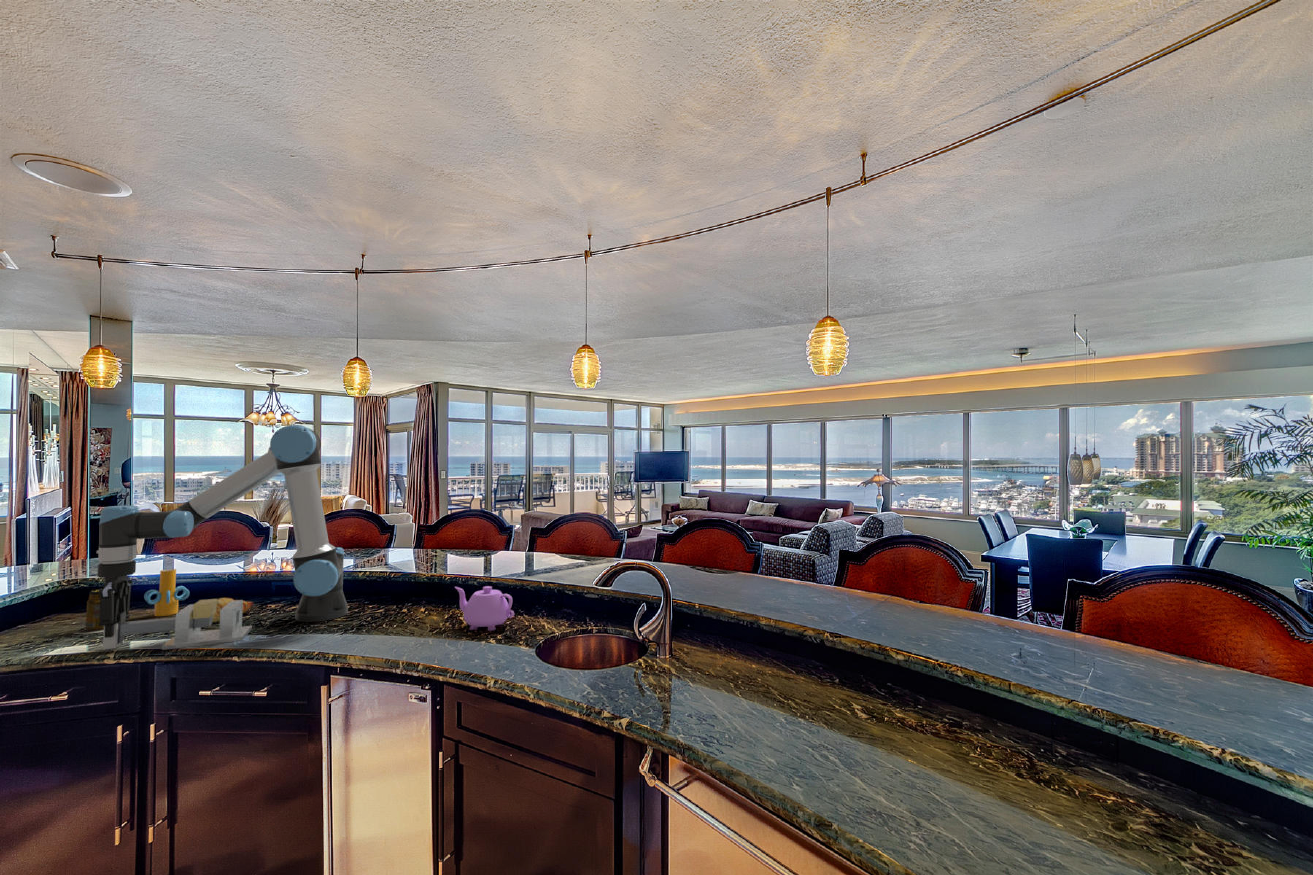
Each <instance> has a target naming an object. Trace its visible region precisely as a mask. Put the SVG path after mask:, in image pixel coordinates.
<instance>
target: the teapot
mask: <svg viewBox="0 0 1313 875" xmlns="http://www.w3.org/2000/svg"><path fill="white" fill-rule="evenodd" d="M454 588H455V590H457V592H458V594H459V608H460V610H461V611H462V613H463V620H464V621H465V622H466V624H468V626H470V627H469V630H470V631H474V630H478V628H479V627H480V628H481V627H482V628H483V627H484V628H485V627H487V631H489V632H490V631H491V632H493V631H496V629H497V628H496V626H500V625H504V623H505V622H506V620H507V619H508V618H509V619H511V618H513V617H514V616H515V612H514V610H512V609H511V608H512V605H513V597H512V595H510V594H508V593H502V591H501V590H499V589H493V586H491V585H490V586H489V585H487V586H486V585H485V586H483V587H482V589H481V590H477V591H475V592H474V593H473V594H472V595H471V596H470V598H469V600H468V601H467V598H466V594H465V591H464V589H463V588H461V587H459V586H454ZM506 598H507V599H508V601H507V599H506Z"/></svg>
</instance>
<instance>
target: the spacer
mask: <svg viewBox="0 0 1313 875" xmlns="http://www.w3.org/2000/svg"><path fill="white" fill-rule="evenodd" d="M217 599H218V598H211V599H210V598H209V599H199V600H198V601H197V602H195V603H193V604H194V605H193V619H198V618H209V617H211V616H212V615H213V614H215V613H216V607H217Z"/></svg>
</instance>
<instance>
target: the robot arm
mask: <svg viewBox="0 0 1313 875" xmlns="http://www.w3.org/2000/svg"><path fill="white" fill-rule="evenodd" d="M321 448H322V442H321V438H320V436H319V435H318V433H317V432H316V431H314V430H313V429H311V428H309V427H306V426H305V425H302V424H301V425H300V424H290V425H286V426H282V427H281V428H279V429H277V430H276V431H275V432H274V433H273V435H272V436H271V439H270V442H269V447H268V450H267V452H266V453H264V454H262V455H261V456H260V457H257V458H256V459H254V460H253V461H251V462H250V463H248V464H246V465H245V466H243V467H242V468H240V469H238V470H236V471H234V472H233V473H231V474H230V475H228V476H226V478H223V479H222V480H220V481H219V482H217V483H215V484H214V485H212V486H211V487H209V488H207V489H205V490H204V491H202V492H201V493H199V494H198V495H196V496H194V497H193V498H191V499H190V500H188V501H186V502H184V503H183V504H181V505H180V506H178V507H176V508H174V509H170V510H166V511H151V512H150V511H149V512H143V511H140V510H139V507H138V506H137V505H114V506H113V505H112V506H111V505H110V506H105V507H103V508H102V509H101V511H100V517H99V518H100V519H99V522H98V525H99V528H98V529H99V531H98V532H99V533H98V534H99V536H98V537H99V538H98V541H99V542H98V549H97V550H96V551H95V552H96V554H97V555H98V559H97V560H98V562H100V563H98V565H97V572H96V573H97V577H98V578H101V579H102V578H103V579H105V582H104V584H103V588H100V589H101V590H99V597H100V623H99V626H104V632H102V633H103V638H102V650H110V649H117V648H118V645H123V644H124V643H125V640H124V641H122V642H121V643H118V623H117V614H118V612H122V611H126V620H127V619H130V615H129V613H130V605H131V604H130V603H131V592H132V591H131V590H132V589H131V588H132V583H133V579H128V576H131V575H133V574H135V573H136V569H137V561H136V560H135V559H136V558H137V554H138V552H137V551H138V550H137V549H138V548H137V546H138V545H137V544H138V540H142V539H164V538H171V539H174V538H181V537H183V538H184V537H187V536H189V535H191V533H192V532H193V529H196V528H197V527H198V526H199V525H200V524H201V523H203V522H204V521H207V519H210V517H212V516H213V515H215V514H217V513H219V512H220V511H221V510H224V509H225V508H226V507H228V506H229V505H232V504H233V503H234V502H236V501H237V500H239V499H241V498H242V497H244V496H246V495H247V494H249V493H250V492H251V491H253V490H255V489H257V488H258V487H260V486H261V485H263V484H264V483H266V482H267V481H269V480H271V479H272V478H274V477H275V476H277V475H279V474H282V475H283V476H284V479H285V487H286V491H287V497H288V503H289V508H290V509H289V510H290V516H291V523H292V527H293V528H292V529H293V533H294V534H293V535H294V538H295V539H294V540H295V544H296V552H295V553H293V555H292V562H293V567H294V568H293V569H294V573H293V574H294V575H293V578H292V580H293V585H294V587H295V589H296V590H297V591H298V592H299V593H300V594H302V596H301V598H300V600H299V603H298V605H297V608H296V610H295V621H297V622H302V623H315V622H324V621H330V620H331V621H332V620H334V619H339V618H342V617H344V616H346V615H347V614H348V613H349V606H348V605H349V604H348V602H347V600H346V597H345V594H344V591H343V589H344V588H343V587H344V586H343V584H344V558H345V553H344V551H345V550H344V547H343V548H342V547H338V546H337V547H336V546H335V545H333V544H331V543H330V541H329V537H328V530H327V523H326V518H325V512H324V508H323V506H324V505H323V500H322V494H321V488H320V483H319V478H318V476H319V475H318V472H317V471H318V469H319V468H320V467H321V466H322V461H321V456H320V450H321ZM116 623H117V624H116Z"/></svg>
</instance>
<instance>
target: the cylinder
mask: <svg viewBox="0 0 1313 875" xmlns="http://www.w3.org/2000/svg"><path fill="white" fill-rule="evenodd" d="M159 573H160V574H159V575H160V576H159V590H157V589H150V590H148V591H146V592H145V593H144V595H143V598H144V600H145V601H146V603H147V604H148V605H151V606H152V605H154V613H153V616H154V617H168V616H173V615H176V614H177V613H178V612H179V601H185V600H186V599H188V598H189V596H190V590H189V589H188V588H186V587H185V586H183V585H180V586H177V587H176V581H177V569H176V568H170V569H169V568H167V569H162V570H160V572H159ZM180 591H183V592H182V594H181V595H179V596H178V593H179V592H180ZM153 595H156V597H155V599H151V598H152V596H153Z"/></svg>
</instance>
